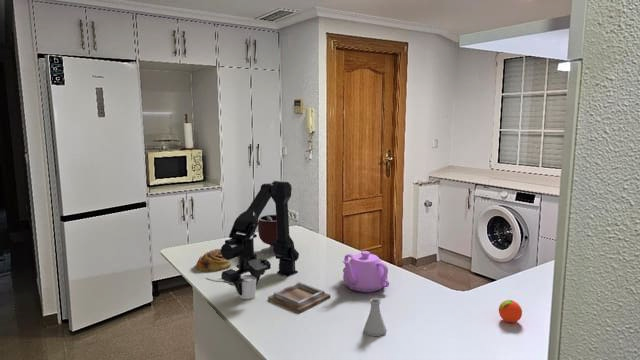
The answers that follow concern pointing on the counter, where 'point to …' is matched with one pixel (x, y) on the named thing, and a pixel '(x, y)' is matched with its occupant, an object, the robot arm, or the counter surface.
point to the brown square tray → (299, 297)
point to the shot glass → (248, 287)
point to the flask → (375, 320)
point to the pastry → (212, 261)
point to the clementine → (510, 311)
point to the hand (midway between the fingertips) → (247, 292)
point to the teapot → (365, 272)
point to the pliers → (217, 279)
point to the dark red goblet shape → (267, 233)
